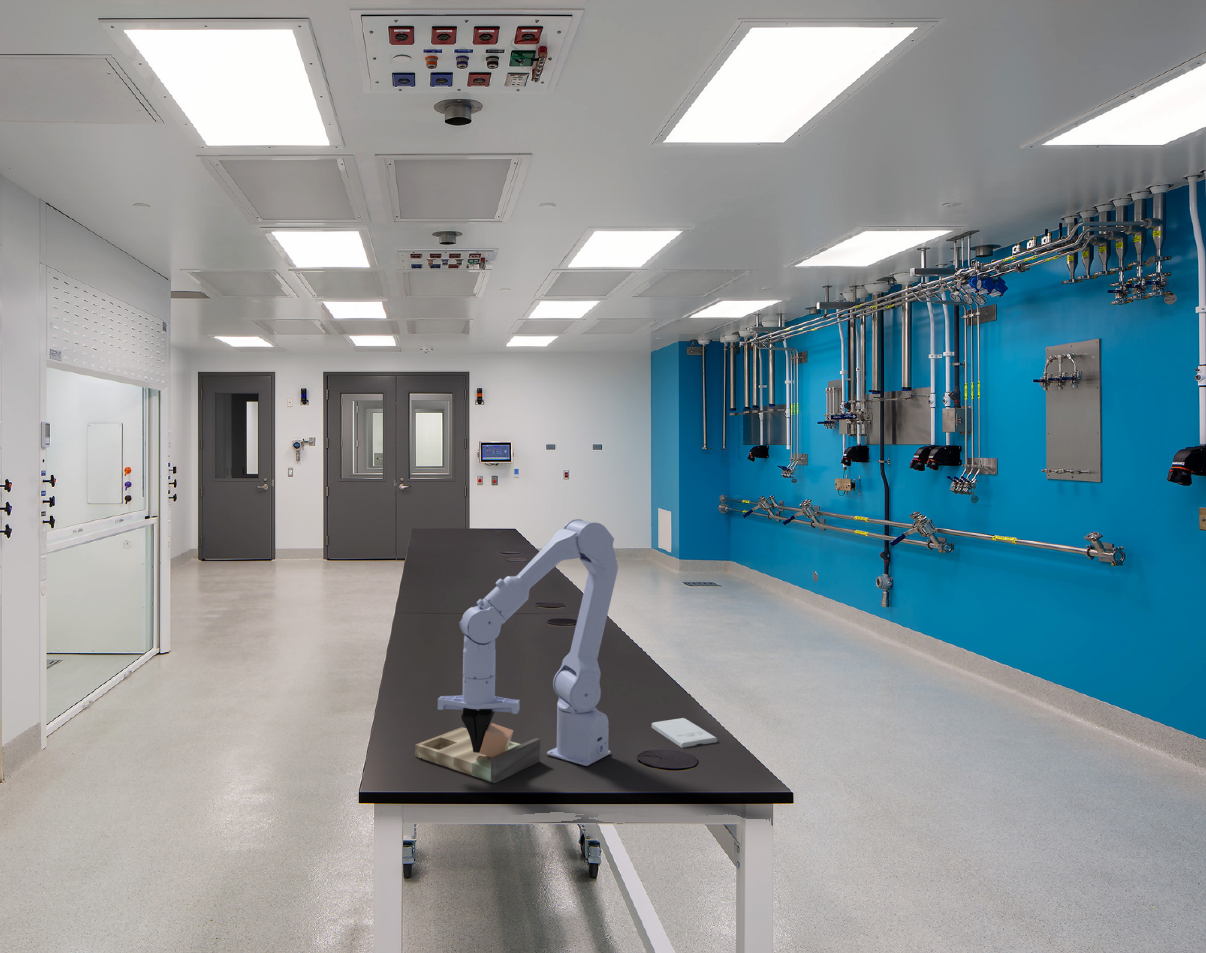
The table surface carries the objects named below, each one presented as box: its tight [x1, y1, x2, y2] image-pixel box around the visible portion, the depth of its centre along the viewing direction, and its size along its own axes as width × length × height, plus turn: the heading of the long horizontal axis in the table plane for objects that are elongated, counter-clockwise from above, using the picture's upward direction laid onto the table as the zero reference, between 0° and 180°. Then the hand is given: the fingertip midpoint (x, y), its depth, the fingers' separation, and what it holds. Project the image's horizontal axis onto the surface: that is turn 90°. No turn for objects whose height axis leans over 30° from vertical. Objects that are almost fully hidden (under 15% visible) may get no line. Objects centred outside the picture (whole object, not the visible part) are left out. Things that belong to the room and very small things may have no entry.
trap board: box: [414, 726, 541, 784], centre depth 143 cm, size 20×12×4 cm, turn 55°
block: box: [479, 722, 514, 757], centre depth 139 cm, size 4×4×4 cm
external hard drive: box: [651, 717, 718, 749], centre depth 158 cm, size 2×8×12 cm
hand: (478, 750), depth 139 cm, fingers closed
